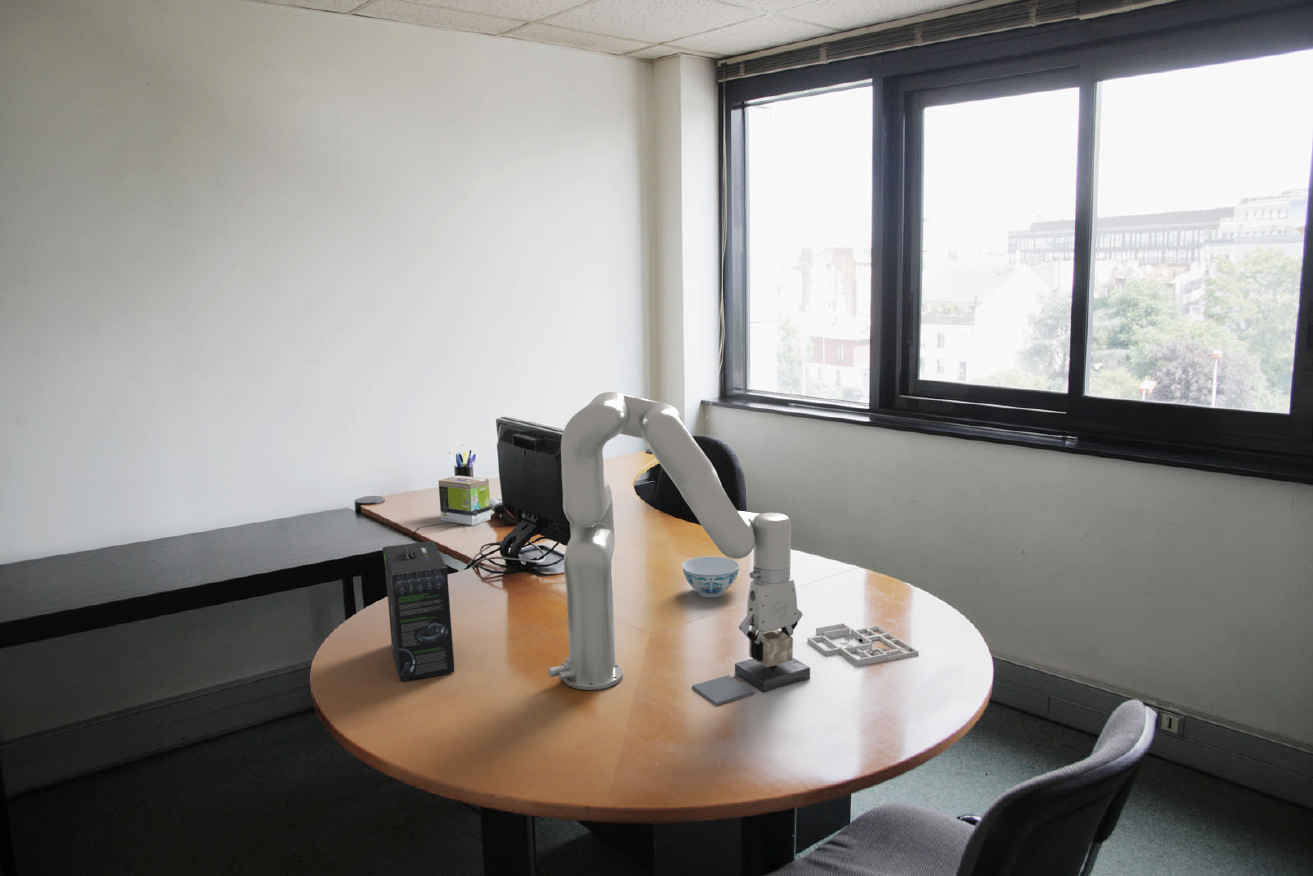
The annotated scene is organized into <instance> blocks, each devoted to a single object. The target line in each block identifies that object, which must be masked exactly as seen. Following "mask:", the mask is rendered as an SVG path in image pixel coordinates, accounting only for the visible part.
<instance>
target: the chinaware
mask: <svg viewBox="0 0 1313 876" xmlns="http://www.w3.org/2000/svg"><path fill="white" fill-rule="evenodd" d="M681 566H682V567H681V568H682V573H683V574H684V575H683V576H684V578H685V579H686V581H687V583H688V584H689V585H690V586H691V587H692V588H693V589H694V590H696V591H697V593H698V595H699V596H700V597H701V596H702V597H704V598H718V597H721V596H723V595H724V593H725V591H726V590H728V589H729V588H731V586H732V585H733V584H734V582H735V580H736V579H737V576H738V574H739V571H740V563H739V562H738V561H737V560H736V559H732V558H729V557H723V556H715V555H714V556H708V555H707V556H699V557H694V558H690V559H687V560H686V561H684V562H683V563H682V564H681Z"/></svg>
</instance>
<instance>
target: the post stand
mask: <svg viewBox="0 0 1313 876" xmlns="http://www.w3.org/2000/svg"><path fill="white" fill-rule="evenodd" d="M772 639H774V638H770V639H768V640H772ZM734 675H735V676H737V678H740V679H741V680H742V681H744V682H745V683H748V684H749V685H750V686H752V687H754V688H755V689H756V690H759V691H760V692H762V693H764V694H765V693H767V692H771V691H773V690H777V689H779V688H780V689H781V688H783V687H786V686H787V687H788V686H791V685H794V684H797V683H800V682H804V681H806V680H811V666H809V665H806V664H805V663H803V662H801V661H799V660H798V659H796V658H794V657H793V658H792V661H788V662H785V663H781V664H778V665H774V666H770V667H766V666H765V665H763V664H761V663H760V662H758V661H756V660H755V659H753V658H750V659H746V660H743V661H738V662H736V663H734Z"/></svg>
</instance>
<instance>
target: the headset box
mask: <svg viewBox="0 0 1313 876" xmlns="http://www.w3.org/2000/svg"><path fill="white" fill-rule="evenodd" d="M382 552H383V559H384V568H385V569H384V571H385V581H386V592H387V593H386V594H387V603H388V604H387V605H388V615H389V630H390V639H391V651H392V657H393V661H394V666H395V670H396V672H397V675H398V676H397V677H398V679H399V681H400V682H402V681H409V680H416V679H417V680H418V679H423V678H430V677H434V676H439V675H446V674H451V673H455V659H454V658H455V657H454V645H453V631H452V618H451V616H452V615H451V607H450V606H451V605H450V591H449V580H448V578H449V576H448V567H447V565H446V563H445V560H444V558H443V557H442V555H441V553H440V551H439V549H438V547H437V545H436V543H435V541H434V540H431V541H428V540H427V541H421V542H412V543H405V544H398V545H397V544H396V545H391V546H390V545H387V546H384V547H382Z"/></svg>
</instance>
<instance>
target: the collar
mask: <svg viewBox="0 0 1313 876" xmlns="http://www.w3.org/2000/svg"><path fill="white" fill-rule="evenodd" d="M757 632H758V631H757ZM757 632H756V635H757ZM770 638H774V639H772V640H768V639H770ZM748 641H749V642H748V644H749V645H748V647H749V648H748V653H749V655H748V656H749V657H750V659H754V658H753V657H752V656H751V640H750V639H749V638H748ZM761 643H763V660H762V661H761V662H760V663H761V664H763V665H765V666H766V667H770V666H774V665H778V664H781V663H785V662H788V661H792V658H794V657H793V656H794V655H793V654H794V653H793V648H794V646H793V645H794V638H793V637H792V635H791V636H789V635H787V634H785V633H783V632H781V630H780V629H776V630H772V631H768V632H764V634H763V636H762V639H761ZM755 660H756V659H755ZM756 661H758V660H756ZM758 662H759V661H758Z"/></svg>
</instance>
